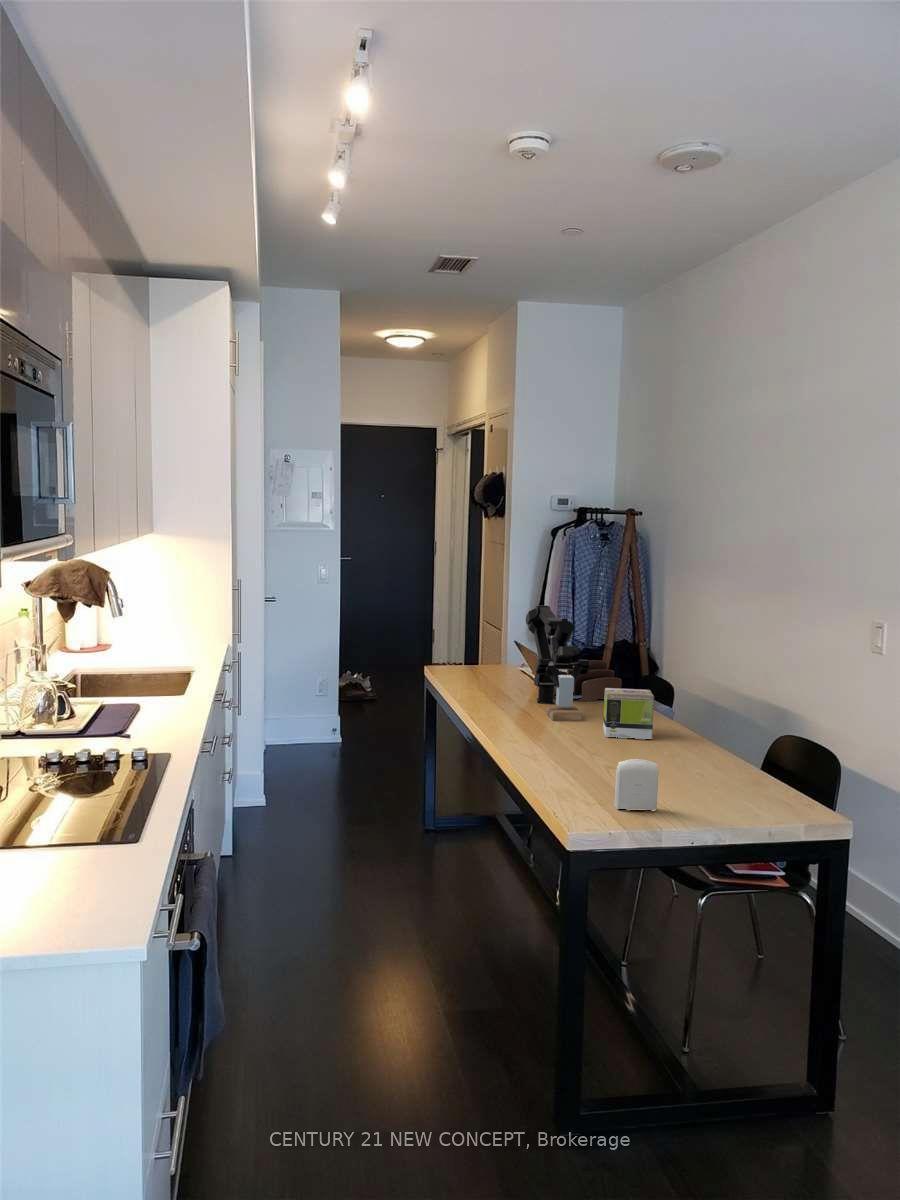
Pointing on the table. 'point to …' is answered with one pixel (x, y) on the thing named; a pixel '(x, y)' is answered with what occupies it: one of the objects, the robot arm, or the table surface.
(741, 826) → the table surface
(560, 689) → the tin
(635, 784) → the photo printer
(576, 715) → the block
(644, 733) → the tea box
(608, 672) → the letter holder
